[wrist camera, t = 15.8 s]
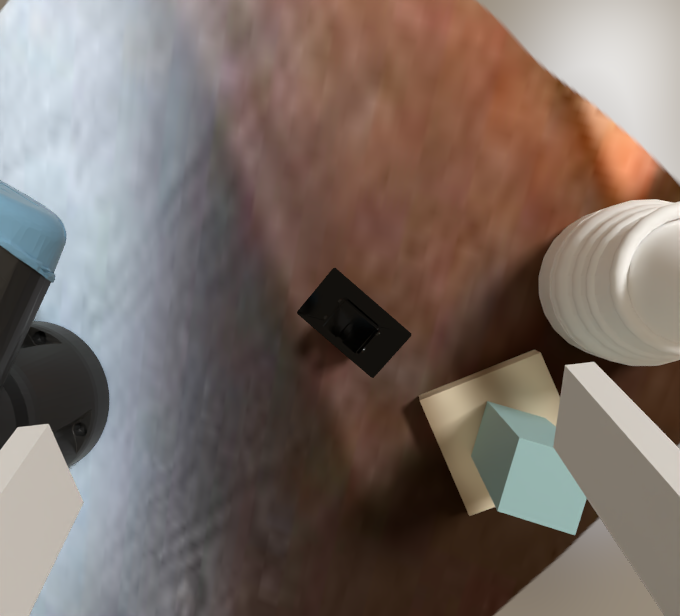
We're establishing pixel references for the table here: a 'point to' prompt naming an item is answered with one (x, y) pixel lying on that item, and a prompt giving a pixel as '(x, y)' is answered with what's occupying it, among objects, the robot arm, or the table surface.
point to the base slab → (468, 408)
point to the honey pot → (617, 283)
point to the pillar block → (526, 469)
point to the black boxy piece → (353, 323)
